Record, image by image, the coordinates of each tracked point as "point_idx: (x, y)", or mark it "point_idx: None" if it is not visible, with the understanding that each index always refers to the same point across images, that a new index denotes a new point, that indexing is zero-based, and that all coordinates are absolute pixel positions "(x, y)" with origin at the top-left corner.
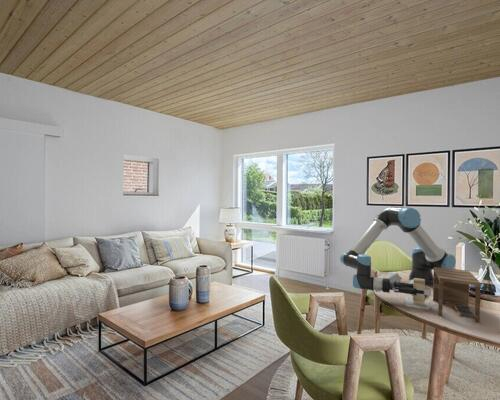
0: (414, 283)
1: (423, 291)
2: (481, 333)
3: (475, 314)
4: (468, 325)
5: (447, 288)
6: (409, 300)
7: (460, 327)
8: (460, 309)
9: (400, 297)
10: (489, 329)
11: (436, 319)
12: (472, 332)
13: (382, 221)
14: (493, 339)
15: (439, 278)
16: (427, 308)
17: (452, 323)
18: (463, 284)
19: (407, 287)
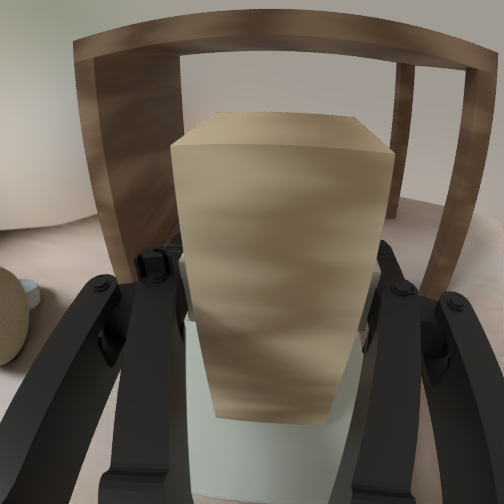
0: (383, 218)
1: (386, 243)
2: (484, 229)
3: (397, 189)
4: None
5: (150, 163)
6: None
7: (494, 259)
8: None
9: (80, 501)
10: (432, 209)
11: (494, 317)
12: (500, 243)
13: None
14: (497, 220)
15: (492, 55)
16: (358, 343)
17: (481, 273)
18: (175, 111)
19: (391, 392)
